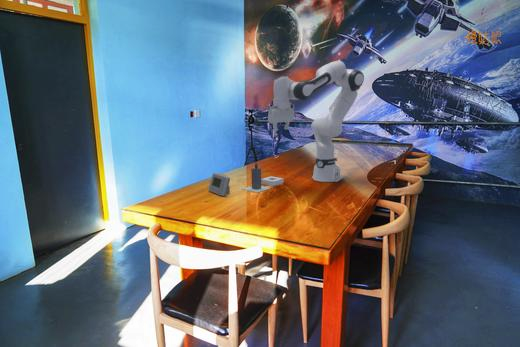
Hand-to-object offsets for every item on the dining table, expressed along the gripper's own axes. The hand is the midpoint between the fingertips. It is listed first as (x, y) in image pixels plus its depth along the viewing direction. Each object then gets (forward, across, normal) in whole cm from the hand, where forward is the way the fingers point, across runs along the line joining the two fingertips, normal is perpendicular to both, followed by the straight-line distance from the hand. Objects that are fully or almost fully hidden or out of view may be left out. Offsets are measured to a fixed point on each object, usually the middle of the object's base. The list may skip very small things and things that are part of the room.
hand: (281, 130), depth 203 cm
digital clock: (+34, -32, +19) cm, 51 cm away
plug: (+34, -12, +9) cm, 37 cm away
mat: (+34, -12, +9) cm, 37 cm away
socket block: (+34, +4, +10) cm, 36 cm away
